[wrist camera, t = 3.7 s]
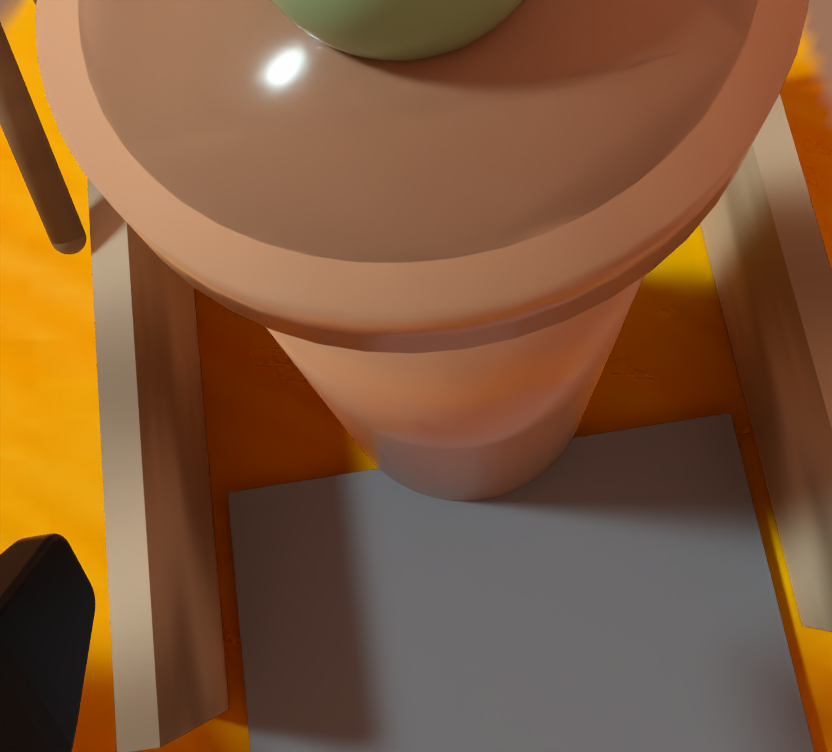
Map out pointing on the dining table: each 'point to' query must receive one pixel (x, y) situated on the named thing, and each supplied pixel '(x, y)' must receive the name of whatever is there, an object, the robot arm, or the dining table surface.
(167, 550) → the brown open rectangular box
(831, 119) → the dining table surface
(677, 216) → the pink lidded canister
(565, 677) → the mat
